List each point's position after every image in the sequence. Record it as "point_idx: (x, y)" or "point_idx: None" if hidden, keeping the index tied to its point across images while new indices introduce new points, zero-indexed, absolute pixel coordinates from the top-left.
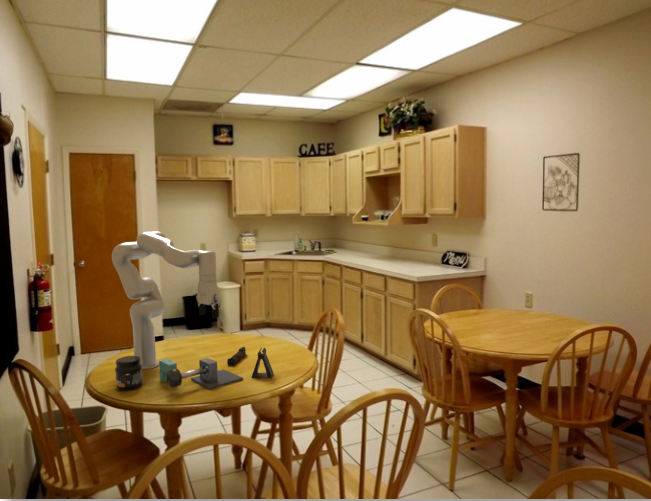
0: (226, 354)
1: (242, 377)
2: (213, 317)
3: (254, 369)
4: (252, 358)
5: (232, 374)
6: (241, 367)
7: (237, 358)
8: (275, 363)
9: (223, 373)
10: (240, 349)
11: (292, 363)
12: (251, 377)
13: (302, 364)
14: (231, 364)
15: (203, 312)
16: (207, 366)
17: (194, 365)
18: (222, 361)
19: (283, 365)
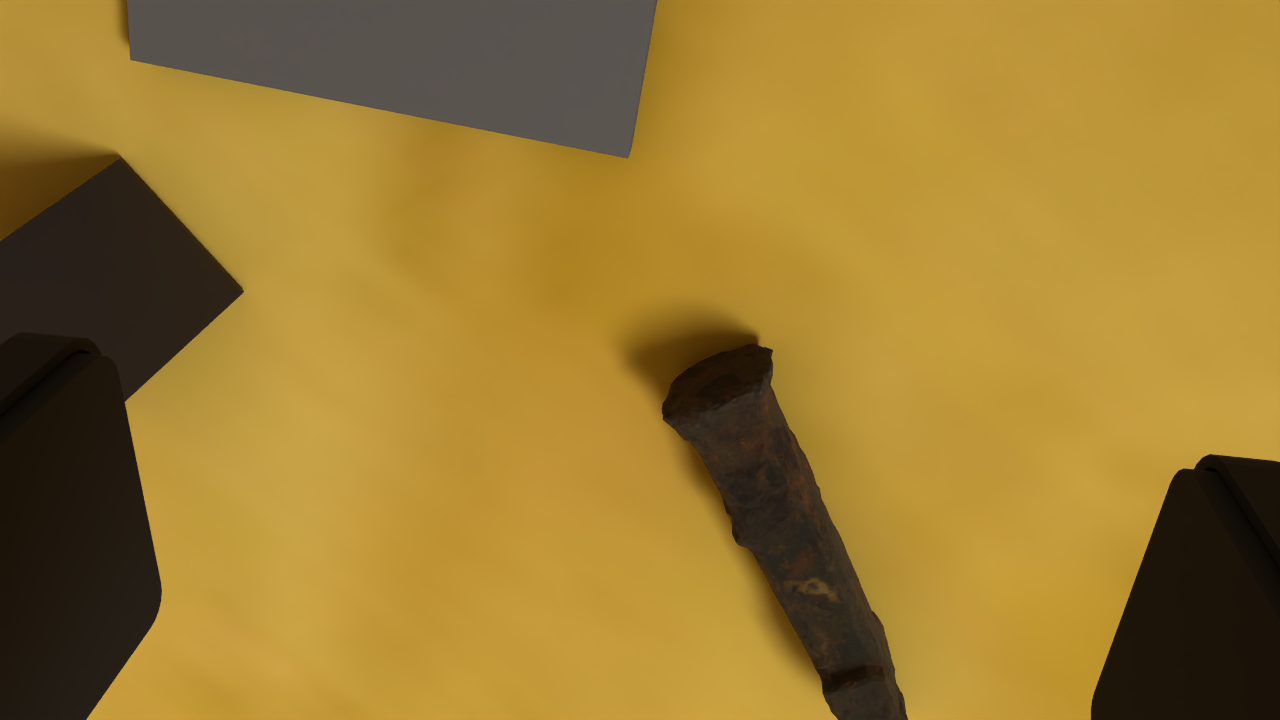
0: (1109, 619)
1: (139, 60)
2: (13, 363)
3: (32, 221)
4: (697, 643)
5: (341, 70)
6: (553, 372)
7: (722, 496)
8: (348, 631)
9: (475, 28)
10: (855, 688)
11: (214, 696)
12: (119, 160)
13: (117, 713)
14: (708, 363)
15: (1155, 704)
16: None
17: (1231, 100)
18: (955, 417)
19: (231, 621)
